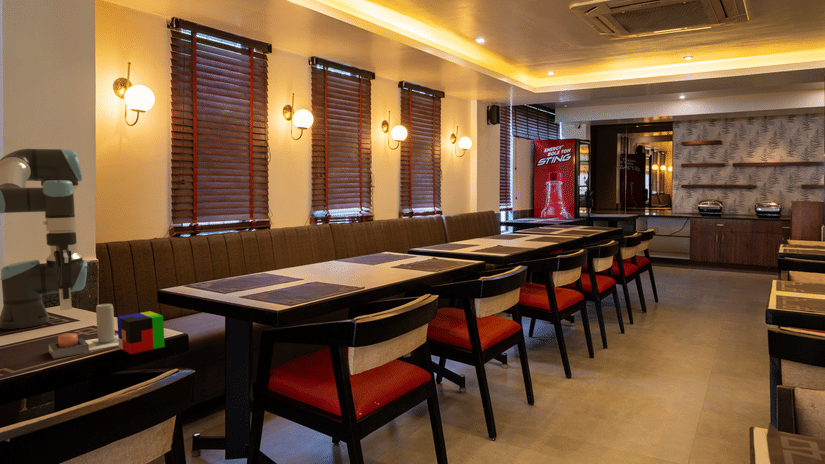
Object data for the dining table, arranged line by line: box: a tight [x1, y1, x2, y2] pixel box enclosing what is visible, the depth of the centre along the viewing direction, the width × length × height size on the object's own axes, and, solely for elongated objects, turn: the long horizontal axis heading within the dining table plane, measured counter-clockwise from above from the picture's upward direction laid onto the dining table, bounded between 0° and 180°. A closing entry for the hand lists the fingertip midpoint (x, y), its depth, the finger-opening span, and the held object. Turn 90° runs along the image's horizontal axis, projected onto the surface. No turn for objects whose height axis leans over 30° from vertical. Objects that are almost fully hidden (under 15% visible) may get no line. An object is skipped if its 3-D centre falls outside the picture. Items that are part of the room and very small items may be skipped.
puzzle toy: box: [116, 310, 166, 355], centre depth 167 cm, size 10×10×10 cm
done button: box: [57, 332, 79, 348], centre depth 163 cm, size 5×5×4 cm
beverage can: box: [95, 303, 116, 343], centre depth 173 cm, size 5×5×12 cm
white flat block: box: [84, 334, 119, 352], centre depth 173 cm, size 13×12×1 cm
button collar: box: [48, 337, 90, 360], centre depth 163 cm, size 9×9×2 cm
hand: (66, 309), depth 162 cm, fingers closed
